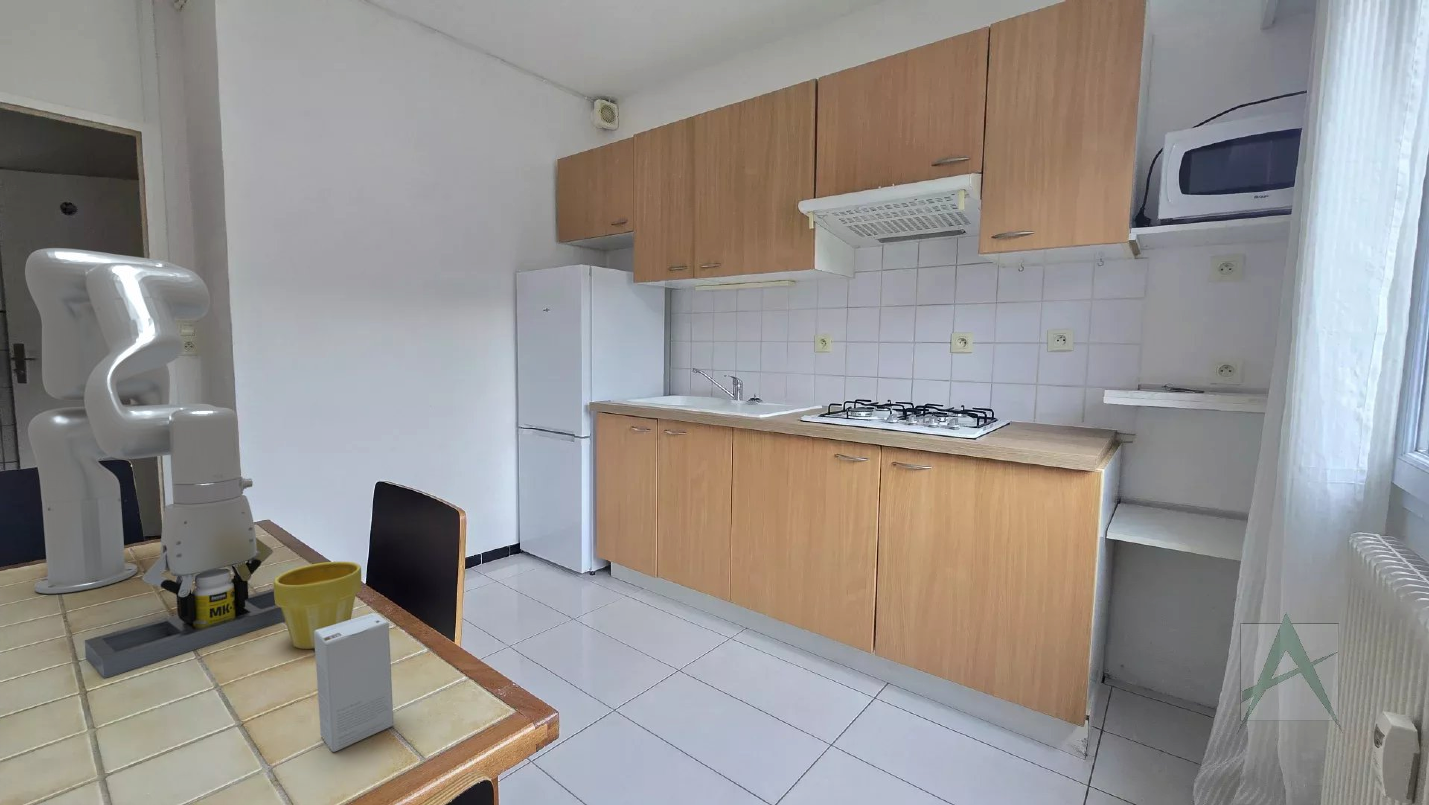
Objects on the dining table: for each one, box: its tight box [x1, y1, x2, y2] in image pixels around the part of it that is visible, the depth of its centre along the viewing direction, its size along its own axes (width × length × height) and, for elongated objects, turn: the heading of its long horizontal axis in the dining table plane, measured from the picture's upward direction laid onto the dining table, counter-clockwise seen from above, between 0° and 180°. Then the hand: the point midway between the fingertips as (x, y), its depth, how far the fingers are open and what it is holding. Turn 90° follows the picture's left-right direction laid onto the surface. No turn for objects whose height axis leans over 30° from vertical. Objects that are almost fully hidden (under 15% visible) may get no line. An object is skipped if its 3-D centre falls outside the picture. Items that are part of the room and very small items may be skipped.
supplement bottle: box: [191, 568, 235, 629], centre depth 85 cm, size 5×5×8 cm
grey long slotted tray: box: [83, 587, 286, 679], centre depth 86 cm, size 9×25×2 cm, turn 147°
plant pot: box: [273, 561, 362, 650], centre depth 83 cm, size 10×10×10 cm
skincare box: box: [314, 612, 394, 753], centre depth 62 cm, size 6×4×12 cm
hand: (214, 611), depth 86 cm, fingers open, 5 cm apart
